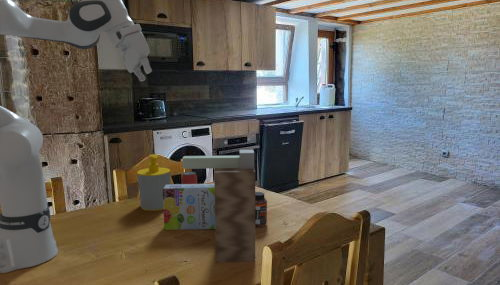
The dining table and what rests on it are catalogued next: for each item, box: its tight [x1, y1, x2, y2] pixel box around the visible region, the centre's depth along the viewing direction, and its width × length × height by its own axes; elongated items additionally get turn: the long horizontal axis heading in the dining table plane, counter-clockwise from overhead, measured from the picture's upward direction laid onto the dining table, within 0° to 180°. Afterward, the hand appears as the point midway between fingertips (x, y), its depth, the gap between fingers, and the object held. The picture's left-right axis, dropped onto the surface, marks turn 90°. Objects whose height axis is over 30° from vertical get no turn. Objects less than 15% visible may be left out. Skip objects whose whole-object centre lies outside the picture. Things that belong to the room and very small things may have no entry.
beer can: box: [180, 170, 198, 184], centre depth 153 cm, size 7×7×12 cm
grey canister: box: [136, 154, 171, 212], centre depth 145 cm, size 13×13×21 cm
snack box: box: [162, 183, 215, 231], centre depth 124 cm, size 21×6×15 cm, turn 92°
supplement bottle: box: [255, 191, 268, 228], centre depth 127 cm, size 6×6×11 cm
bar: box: [181, 149, 255, 170], centre depth 102 cm, size 20×5×4 cm, turn 93°
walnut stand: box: [213, 168, 256, 263], centre depth 104 cm, size 11×12×26 cm
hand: (146, 76), depth 116 cm, fingers open, 8 cm apart
